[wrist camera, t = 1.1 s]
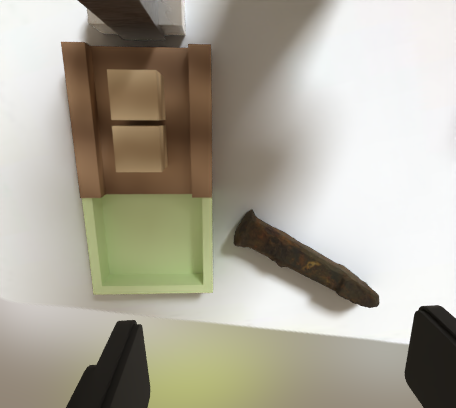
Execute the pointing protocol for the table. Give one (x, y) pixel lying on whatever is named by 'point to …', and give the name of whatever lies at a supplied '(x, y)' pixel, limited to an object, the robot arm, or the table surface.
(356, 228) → the table surface
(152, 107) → the light brown cube
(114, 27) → the cube with crossbar
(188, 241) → the tray
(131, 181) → the slot board
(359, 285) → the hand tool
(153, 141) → the light brown wooden block
